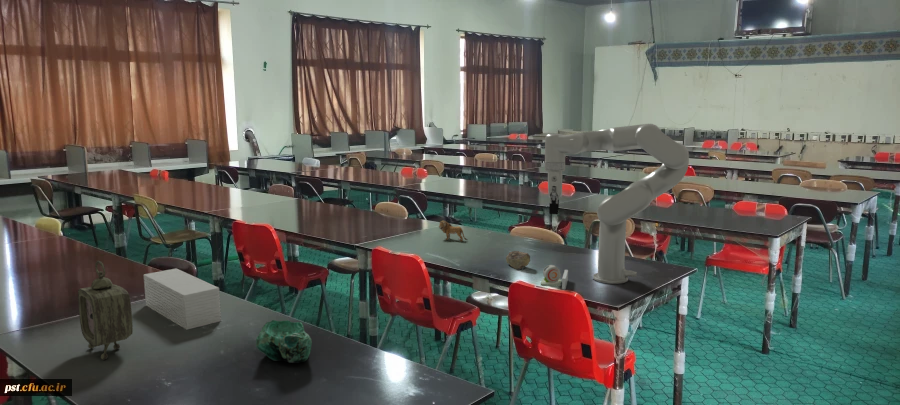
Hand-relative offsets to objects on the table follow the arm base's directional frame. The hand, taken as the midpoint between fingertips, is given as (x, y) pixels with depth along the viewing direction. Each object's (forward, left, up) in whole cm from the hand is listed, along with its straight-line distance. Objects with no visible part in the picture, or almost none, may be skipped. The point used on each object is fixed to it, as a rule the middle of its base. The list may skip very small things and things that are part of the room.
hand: (554, 211), depth 244 cm
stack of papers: (+110, +74, -25) cm, 135 cm away
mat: (-1, +12, -25) cm, 27 cm away
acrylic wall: (-6, +13, -25) cm, 28 cm away
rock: (+15, -7, -25) cm, 30 cm away
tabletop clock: (+108, +106, -25) cm, 154 cm away
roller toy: (-1, +12, -24) cm, 27 cm away
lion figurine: (+53, -51, -25) cm, 77 cm away
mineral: (+59, +99, -25) cm, 118 cm away
